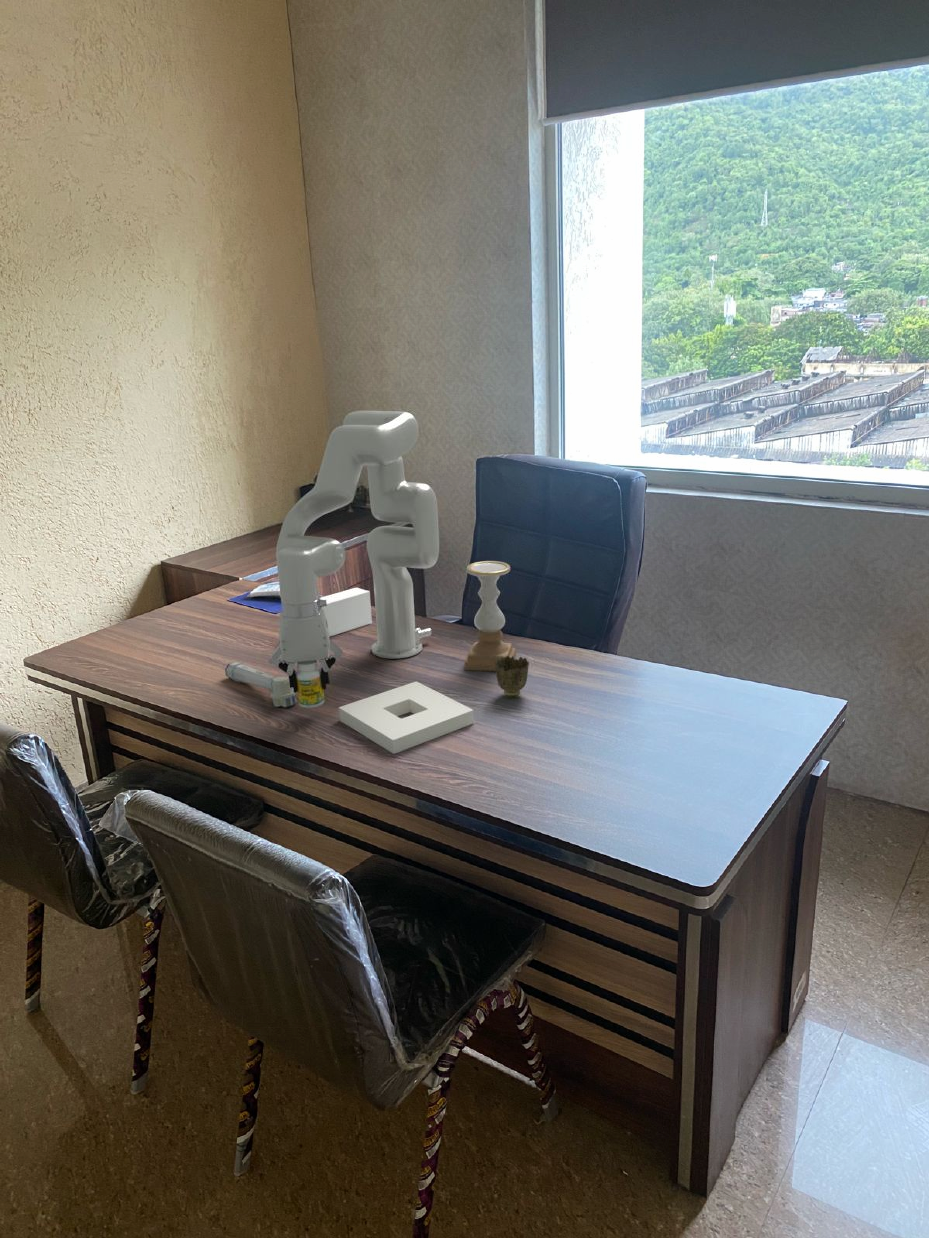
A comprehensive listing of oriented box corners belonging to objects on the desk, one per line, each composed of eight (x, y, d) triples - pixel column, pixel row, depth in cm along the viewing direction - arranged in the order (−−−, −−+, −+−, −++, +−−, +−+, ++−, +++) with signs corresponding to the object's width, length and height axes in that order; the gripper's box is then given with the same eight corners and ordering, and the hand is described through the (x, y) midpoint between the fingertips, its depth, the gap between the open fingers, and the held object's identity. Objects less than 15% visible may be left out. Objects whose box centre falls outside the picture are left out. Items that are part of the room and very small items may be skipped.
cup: (534, 691, 202) (533, 657, 200) (521, 704, 196) (521, 670, 193) (503, 686, 205) (502, 653, 203) (490, 699, 199) (489, 665, 196)
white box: (359, 619, 251) (357, 587, 248) (371, 624, 248) (369, 591, 244) (298, 639, 239) (295, 604, 235) (310, 644, 235) (307, 609, 232)
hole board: (416, 693, 203) (416, 681, 202) (473, 723, 188) (473, 709, 187) (339, 720, 191) (338, 707, 190) (393, 753, 177) (392, 740, 176)
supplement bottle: (323, 695, 195) (319, 654, 192) (325, 706, 191) (321, 664, 187) (298, 699, 194) (293, 658, 191) (299, 710, 190) (294, 668, 186)
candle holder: (472, 652, 225) (469, 559, 217) (516, 654, 223) (515, 560, 215) (463, 669, 215) (460, 572, 207) (510, 672, 213) (508, 574, 205)
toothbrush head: (240, 658, 216) (297, 672, 198) (245, 685, 218) (302, 701, 200) (220, 664, 213) (276, 680, 195) (226, 691, 215) (282, 709, 196)
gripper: (343, 597, 189) (350, 677, 196) (259, 605, 187) (269, 685, 194) (344, 610, 182) (351, 692, 189) (256, 617, 180) (267, 700, 187)
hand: (310, 687), depth 191 cm, fingers closed on supplement bottle, 5 cm apart
